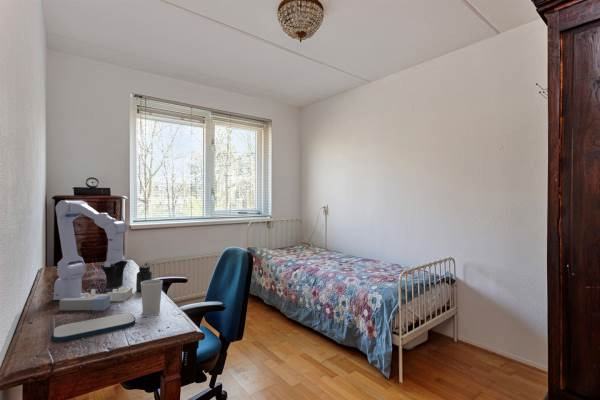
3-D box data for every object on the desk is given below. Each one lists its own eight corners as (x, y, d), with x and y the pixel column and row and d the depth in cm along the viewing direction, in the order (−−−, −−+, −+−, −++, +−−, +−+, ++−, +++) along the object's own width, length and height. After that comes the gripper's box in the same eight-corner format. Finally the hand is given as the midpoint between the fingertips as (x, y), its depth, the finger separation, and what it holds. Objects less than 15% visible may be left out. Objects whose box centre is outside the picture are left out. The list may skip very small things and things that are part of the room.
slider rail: (74, 301, 132) (74, 293, 132) (86, 295, 141) (86, 287, 141) (124, 301, 134) (124, 292, 134) (133, 294, 143) (133, 287, 143)
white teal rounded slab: (52, 345, 94) (52, 339, 94) (53, 332, 104) (53, 326, 104) (137, 327, 109) (137, 321, 109) (131, 316, 118) (131, 311, 118)
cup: (140, 316, 117) (140, 285, 117) (140, 309, 124) (140, 280, 124) (162, 313, 121) (163, 283, 121) (161, 307, 128) (162, 278, 128)
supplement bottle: (145, 293, 146) (145, 268, 146) (132, 292, 147) (133, 267, 147) (154, 289, 153) (155, 265, 153) (142, 288, 154) (143, 264, 154)
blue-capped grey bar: (57, 311, 121) (58, 299, 121) (65, 307, 126) (65, 296, 126) (104, 310, 123) (104, 299, 123) (110, 306, 128) (110, 295, 128)
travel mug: (102, 286, 155) (103, 247, 155) (116, 283, 162) (117, 245, 162) (112, 288, 152) (113, 248, 152) (126, 284, 159) (127, 246, 159)
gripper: (117, 251, 127) (116, 284, 127) (132, 246, 141) (131, 275, 141) (99, 251, 126) (98, 284, 126) (116, 246, 140) (115, 275, 140)
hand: (114, 279), depth 133 cm, fingers open, 7 cm apart
